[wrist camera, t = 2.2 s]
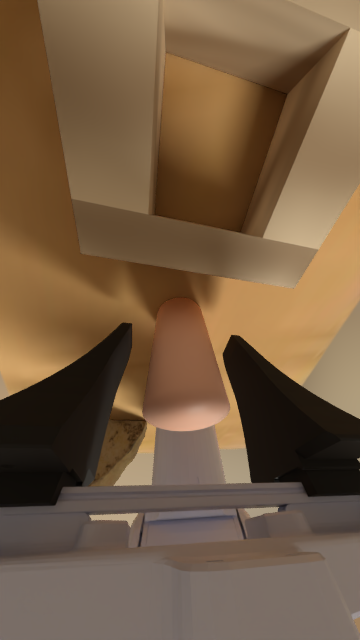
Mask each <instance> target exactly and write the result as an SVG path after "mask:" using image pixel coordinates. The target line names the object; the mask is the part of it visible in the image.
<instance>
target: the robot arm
mask: <svg viewBox="0 0 360 640" xmlns="http://www.w3.org/2000/svg"><path fill="white" fill-rule="evenodd" d="M131 348H132V324H131V323H122V324H120V325H119V326H118V327H117V328H116V329H115V330H114V331H113V332H112V333H111V334H110V335H109V336H108V337H106V338H105V339H104V340H103V341H102V342H101V343H99V344H98V345H97V346H96V347H94V348H93V349H92V350H91V351H89V352H88V353H87V354H85V355H84V356H82V357H81V358H79V359H78V360H76V361H75V362H73V363H72V364H70V365H69V366H67V367H65V368H64V369H62V370H60V371H58V372H57V373H55V374H53V375H51V376H50V377H48V378H46V379H44V380H42V381H40V382H38V383H36V384H34V385H32V386H30V387H28V388H26V389H24V390H22V391H20V392H18V393H15V394H13V395H11V396H9V397H6V398H4V399H2V400H0V640H360V634H359V632H358V629H357V627H356V625H355V623H354V620H353V619H356V618H358V617H360V470H359V469H360V462H359V461H358V460H357V458H360V419H358V418H356V417H354V416H352V415H351V414H349V413H346V412H345V411H343V410H341V409H339V408H337V407H335V406H333V405H332V404H330V403H328V402H327V401H325V400H323V399H321V398H320V397H318V396H316V395H315V394H313V393H311V392H310V391H308V390H307V389H305V388H304V387H302V386H301V385H299V384H298V383H296V382H295V381H293V380H292V379H290V378H289V377H288V376H286V375H285V374H284V373H282V372H281V371H280V370H278V369H277V368H276V367H275V366H273V365H272V364H271V363H270V362H268V361H267V360H266V359H265V358H264V357H263V356H262V355H260V354H259V353H258V352H257V351H256V350H255V349H254V348H253V347H252V346H251V345H249V344H248V343H247V342H246V341H245V340H244V339H243V338H241V337H240V336H237V335H231V337H230V339H229V341H228V343H227V346H226V348H225V350H224V352H223V360H224V365H225V368H226V371H227V374H228V377H229V380H230V383H231V386H232V389H233V392H234V395H235V398H236V401H237V405H238V409H239V413H240V418H241V422H242V427H243V432H244V438H245V443H246V449H247V455H248V462H249V469H250V477H251V482H252V483H242V484H241V483H238V484H226V481H225V476H224V471H223V466H222V461H221V456H220V451H219V446H218V441H217V436H216V431H215V426H214V425H212V426H210V427H207V428H204V429H199V430H194V431H170V430H164V429H161V428H158V427H156V437H155V450H154V463H153V477H152V485H142V486H141V485H139V486H89V485H90V484H91V483H92V482H93V481H94V479H95V476H96V471H97V467H98V463H99V458H100V454H101V450H102V445H103V441H104V437H105V433H106V429H107V425H108V421H109V418H110V414H111V410H112V406H113V402H114V399H115V395H116V392H117V389H118V386H119V384H120V381H121V378H122V376H123V373H124V370H125V368H126V365H127V362H128V360H129V356H130V352H131ZM88 486H89V487H88ZM264 507H279V508H278V512H275V513H266V514H263V515H261V516H257V517H253V518H250V516H249V514H248V513H247V512H246V511H245V509H244V508H264ZM126 513H138V515H137V517H136V518H135V520H134V521H133V523H132V525H131V528H130V526H129V525H128V522H127V521H111V520H95V521H91V518H90V517H89V515H101V514H102V515H103V514H126Z"/></svg>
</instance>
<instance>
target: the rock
mask: <svg viewBox="0 0 360 640" xmlns="http://www.w3.org/2000/svg"><path fill="white" fill-rule="evenodd" d="M146 429H147V423H146V421H131V420H122V421H121V420H109V421H108V425H107V429H106V433H105V437H104V441H103V445H102V450H101V454H100V458H99V463H98V467H97V471H96V476H95V479H94V481H93V482H92V483H91V484H90V485H89V486H113V485H114V484H115V482H116V481H117V480H118V479H119V477H120V475H121V474H122V472H123V471H124V470H125V468H126V466H127V465H128V464H129V463H130V462H132V461H133V459H134V458H135V456H136V454H137V452H138V449H139V446H140V445H141V442H142V440H143V439H144V437H145V432H146ZM89 486H88V487H89Z"/></svg>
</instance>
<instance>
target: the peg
mask: <svg viewBox="0 0 360 640" xmlns="http://www.w3.org/2000/svg"><path fill="white" fill-rule="evenodd" d="M229 410H230V404H229V401H228V397H227V394H226V391H225V387H224V384H223V381H222V377H221V374H220V371H219V368H218V364H217V361H216V358H215V354H214V351H213V348H212V344H211V341H210V338H209V335H208V331H207V328H206V325H205V321H204V318H203V315H202V311H201V309H200V307H199V306H198V304H197V303H195V302H194V301H193V300H191V299H188V298H183V297H177V298H172V299H170V300H168V301H166V302H165V303H163V304H162V305H161V307H160V308H159V310H158V313H157V320H156V326H155V333H154V339H153V346H152V352H151V359H150V365H149V372H148V378H147V385H146V391H145V398H144V404H143V411H142V412H143V417H144V418H145V420H146V421H147V422H148V423H150V424H151V425H153V426H155V427H158V428H161V429H164V430H170V431H194V430H199V429H204V428H207V427H210V426H212V425H215V424H217V423H218V422H220V421H221V420H223V419H224V418H225V417H226V416H227V415H228V413H229Z"/></svg>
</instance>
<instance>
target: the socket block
mask: <svg viewBox="0 0 360 640" xmlns="http://www.w3.org/2000/svg"><path fill="white" fill-rule="evenodd" d="M37 2H38V8H39V13H40V19H41V25H42V31H43V37H44V42H45V48H46V54H47V60H48V66H49V71H50V77H51V83H52V89H53V95H54V100H55V106H56V112H57V118H58V124H59V129H60V135H61V141H62V147H63V153H64V158H65V164H66V170H67V176H68V182H69V187H70V193H71V199H72V205H73V211H74V216H75V222H76V228H77V234H78V240H79V245H80V251H81V254H86V255H92V256H98V257H104V258H110V259H116V260H122V261H128V262H134V263H140V264H147V265H153V266H159V267H165V268H171V269H177V270H183V271H189V272H195V273H201V274H208V275H214V276H220V277H226V278H232V279H238V280H244V281H250V282H256V283H262V284H269V285H275V286H281V287H287V288H293V289H294V288H295V287H296V285H297V283H298V282H299V280H300V279H301V277H302V275H303V274H304V272H305V270H306V269H307V267H308V266H309V264H310V262H311V261H312V259H313V258H314V256H315V254H316V253H317V251H318V250H319V248H320V246H321V245H322V243H323V241H324V240H325V238H326V237H327V235H328V233H329V232H330V230H331V229H332V227H333V225H334V224H335V222H336V221H337V219H338V217H339V216H340V214H341V212H342V211H343V209H344V208H345V206H346V204H347V203H348V201H349V200H350V198H351V196H352V195H353V193H354V192H355V190H356V188H357V187H358V185H359V184H360V0H37ZM166 52H168V53H171V54H173V55H176V56H179V57H182V58H185V59H188V60H191V61H194V62H197V63H199V64H202V65H205V66H208V67H211V68H214V69H217V70H220V71H223V72H225V73H228V74H231V75H234V76H237V77H240V78H243V79H246V80H249V81H251V82H254V83H257V84H260V85H263V86H266V87H269V88H272V89H275V90H277V91H280V92H283V93H286V94H287V97H286V100H285V103H284V106H283V109H282V112H281V115H280V118H279V121H278V124H277V127H276V130H275V133H274V135H273V138H272V141H271V144H270V147H269V150H268V153H267V156H266V159H265V162H264V165H263V168H262V171H261V174H260V176H259V179H258V182H257V185H256V188H255V191H254V194H253V197H252V200H251V203H250V206H249V209H248V212H247V215H246V217H245V220H244V223H243V226H242V229H241V232H236V231H231V230H226V229H221V228H216V227H211V226H206V225H202V224H197V223H192V222H187V221H182V220H177V219H173V218H168V217H163V216H158V215H155V202H156V187H157V172H158V157H159V143H160V128H161V113H162V98H163V83H164V69H165V54H166Z"/></svg>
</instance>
